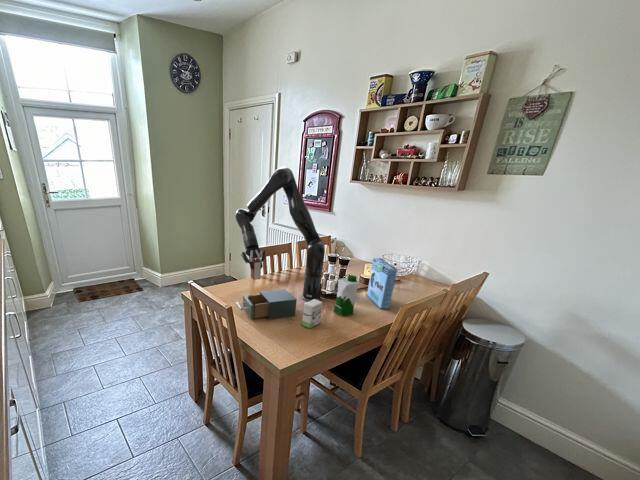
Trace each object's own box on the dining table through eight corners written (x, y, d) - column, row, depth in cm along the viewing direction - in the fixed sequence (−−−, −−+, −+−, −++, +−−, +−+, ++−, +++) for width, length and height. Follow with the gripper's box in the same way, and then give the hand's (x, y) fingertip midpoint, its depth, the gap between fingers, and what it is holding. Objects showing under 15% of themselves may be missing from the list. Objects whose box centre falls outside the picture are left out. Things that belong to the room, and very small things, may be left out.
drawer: (241, 320, 161) (242, 306, 157) (234, 309, 172) (234, 296, 169) (275, 316, 166) (276, 302, 162) (266, 305, 177) (267, 292, 174)
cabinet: (268, 319, 164) (269, 302, 160) (258, 307, 177) (259, 291, 173) (295, 316, 168) (296, 299, 164) (283, 304, 181) (285, 288, 177)
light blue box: (388, 309, 178) (398, 269, 169) (379, 309, 178) (388, 269, 168) (374, 294, 196) (382, 258, 186) (366, 294, 196) (373, 257, 186)
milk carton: (355, 314, 171) (362, 278, 163) (341, 317, 168) (347, 281, 160) (344, 307, 179) (350, 273, 170) (331, 310, 175) (336, 275, 167)
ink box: (309, 328, 157) (312, 306, 152) (301, 325, 160) (303, 303, 155) (320, 323, 162) (323, 301, 157) (311, 319, 165) (314, 298, 160)
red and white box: (257, 276, 184) (257, 258, 180) (260, 279, 179) (261, 261, 175) (250, 276, 183) (251, 259, 178) (253, 279, 178) (254, 262, 174)
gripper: (239, 238, 177) (246, 266, 171) (264, 236, 181) (271, 264, 175) (236, 245, 184) (242, 272, 178) (260, 243, 188) (267, 270, 182)
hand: (257, 268), depth 177 cm, fingers closed on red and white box, 4 cm apart
